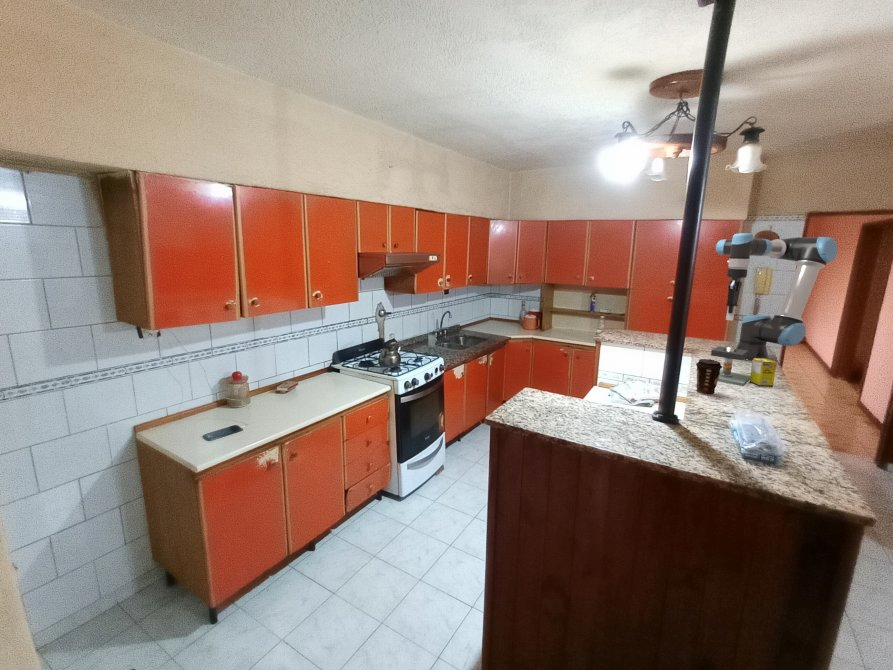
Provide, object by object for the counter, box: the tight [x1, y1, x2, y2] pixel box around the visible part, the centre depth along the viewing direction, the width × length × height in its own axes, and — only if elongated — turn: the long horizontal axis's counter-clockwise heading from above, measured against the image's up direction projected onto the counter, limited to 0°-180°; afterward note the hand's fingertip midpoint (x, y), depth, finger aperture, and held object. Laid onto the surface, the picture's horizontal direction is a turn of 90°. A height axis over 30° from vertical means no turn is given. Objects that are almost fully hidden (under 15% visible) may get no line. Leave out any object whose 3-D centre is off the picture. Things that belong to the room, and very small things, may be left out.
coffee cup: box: [695, 358, 723, 396], centre depth 166 cm, size 9×8×13 cm
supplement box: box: [748, 358, 778, 388], centre depth 177 cm, size 6×6×11 cm
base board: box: [718, 369, 751, 387], centre depth 187 cm, size 16×16×1 cm
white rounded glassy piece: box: [720, 346, 736, 377], centre depth 186 cm, size 4×4×13 cm
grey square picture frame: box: [710, 346, 748, 361], centre depth 185 cm, size 11×11×2 cm
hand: (729, 320), depth 194 cm, fingers closed
